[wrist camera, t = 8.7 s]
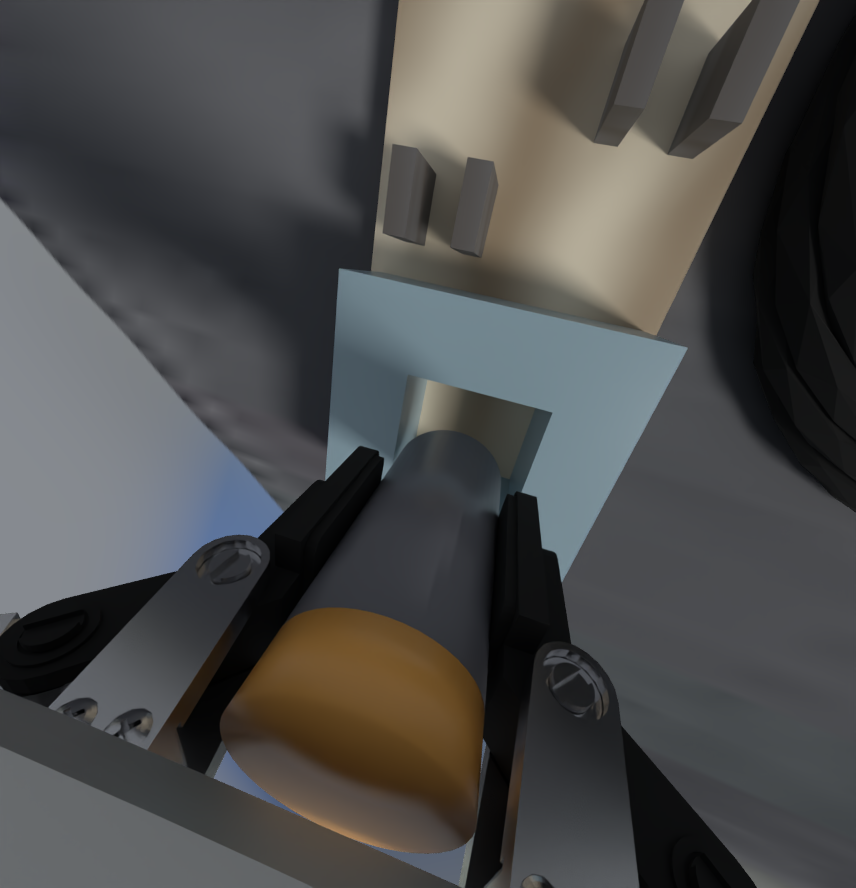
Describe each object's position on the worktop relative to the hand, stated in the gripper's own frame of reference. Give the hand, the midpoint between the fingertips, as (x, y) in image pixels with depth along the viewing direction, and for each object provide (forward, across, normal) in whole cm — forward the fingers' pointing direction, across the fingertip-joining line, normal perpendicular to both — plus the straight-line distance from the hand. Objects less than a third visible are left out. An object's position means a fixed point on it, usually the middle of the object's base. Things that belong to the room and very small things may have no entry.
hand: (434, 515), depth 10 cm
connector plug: (+2, 0, 0) cm, 2 cm away
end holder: (+8, 0, 0) cm, 8 cm away
